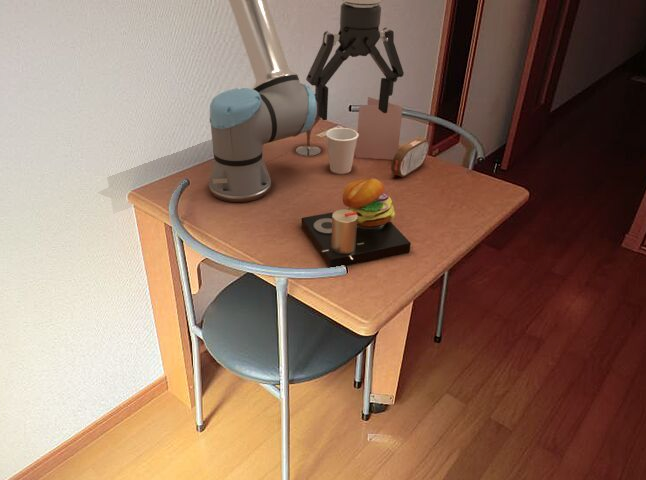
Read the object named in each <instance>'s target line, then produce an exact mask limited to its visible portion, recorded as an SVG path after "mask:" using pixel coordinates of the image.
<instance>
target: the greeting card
mask: <svg viewBox="0 0 646 480" xmlns="http://www.w3.org/2000/svg"><path fill="white" fill-rule="evenodd" d="M378 106H379V99H376V98H373V97H370V96H367V104H359V105H358V116H357V117H358V118H357V119H358V120H357V133H358V138H357V141H356V147H355V158H361V159H374V160H376V159H378V160H390V161H392V160H393V157H394V155H395V153H396V151H397V150H398V148H399V147H400V146H399V145H400V136H401V126H402V119H403V109H404V107H403V106H400V105H397V104H395V103H390V102H388V110H387V113H383V112H382V111H380V110H379V109H378Z"/></svg>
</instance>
